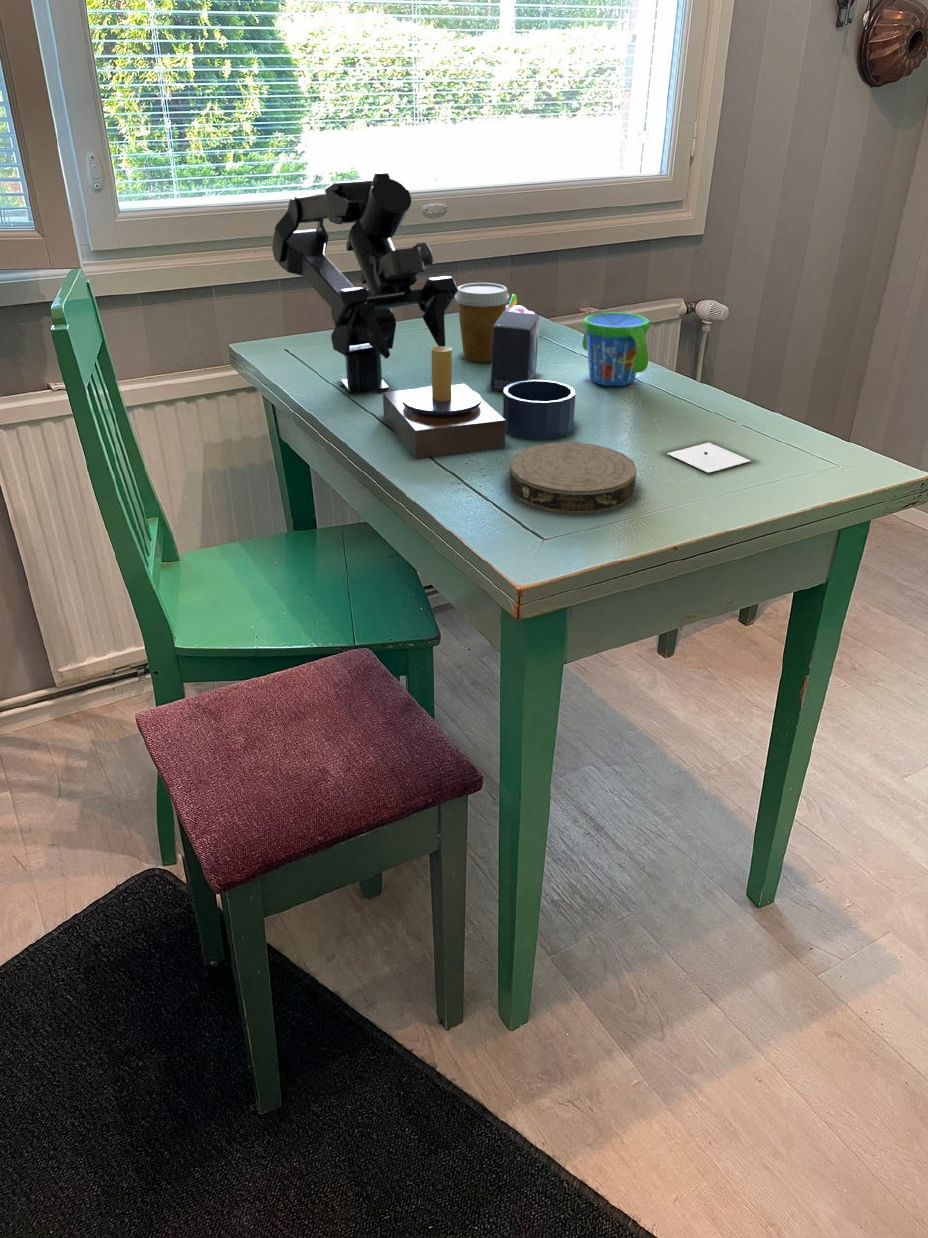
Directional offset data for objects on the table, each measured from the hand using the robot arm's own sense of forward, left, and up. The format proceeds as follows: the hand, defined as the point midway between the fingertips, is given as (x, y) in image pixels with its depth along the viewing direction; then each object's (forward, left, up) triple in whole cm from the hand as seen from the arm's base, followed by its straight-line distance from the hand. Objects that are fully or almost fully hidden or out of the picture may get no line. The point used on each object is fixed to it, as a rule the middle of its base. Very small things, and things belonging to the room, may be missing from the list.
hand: (416, 351), depth 136 cm
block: (+7, +2, -10) cm, 12 cm away
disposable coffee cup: (-27, +20, -10) cm, 35 cm away
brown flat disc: (+31, +11, -10) cm, 34 cm away
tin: (+10, +16, -10) cm, 21 cm away
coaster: (+28, +33, -10) cm, 45 cm away
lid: (+7, +2, -5) cm, 9 cm away
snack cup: (-7, +36, -10) cm, 38 cm away
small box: (-11, +20, -10) cm, 25 cm away
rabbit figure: (-46, +35, -10) cm, 59 cm away
